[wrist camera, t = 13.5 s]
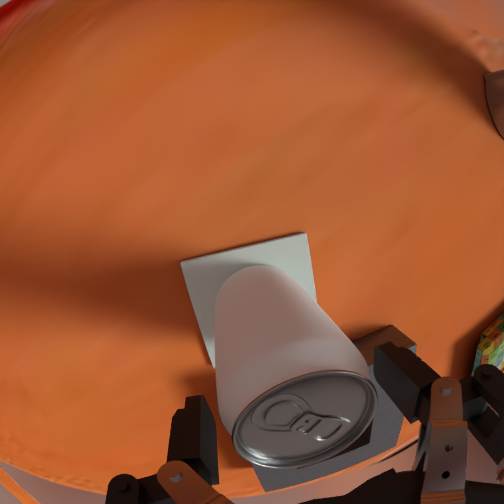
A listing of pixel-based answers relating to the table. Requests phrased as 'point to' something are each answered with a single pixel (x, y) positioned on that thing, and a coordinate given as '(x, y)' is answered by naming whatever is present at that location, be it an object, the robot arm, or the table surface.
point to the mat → (230, 261)
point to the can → (286, 373)
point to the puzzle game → (491, 345)
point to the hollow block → (369, 442)
